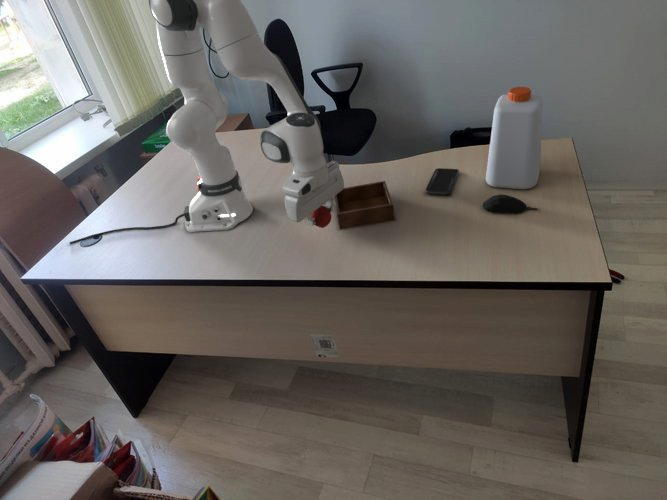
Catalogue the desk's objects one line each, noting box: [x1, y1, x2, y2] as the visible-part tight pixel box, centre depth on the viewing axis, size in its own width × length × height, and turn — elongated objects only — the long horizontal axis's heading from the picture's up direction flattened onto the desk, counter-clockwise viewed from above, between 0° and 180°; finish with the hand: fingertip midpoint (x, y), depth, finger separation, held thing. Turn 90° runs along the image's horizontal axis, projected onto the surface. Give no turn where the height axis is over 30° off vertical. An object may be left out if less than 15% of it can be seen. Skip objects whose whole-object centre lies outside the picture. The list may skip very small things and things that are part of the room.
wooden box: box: [334, 180, 396, 230], centre depth 146 cm, size 17×15×5 cm
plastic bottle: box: [485, 86, 544, 190], centre depth 141 cm, size 15×15×28 cm
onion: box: [311, 205, 332, 229], centre depth 134 cm, size 6×6×8 cm
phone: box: [425, 167, 460, 197], centre depth 153 cm, size 8×1×15 cm
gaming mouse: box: [482, 193, 538, 214], centre depth 136 cm, size 6×15×4 cm, turn 71°
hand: (320, 218), depth 134 cm, fingers closed on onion, 6 cm apart
